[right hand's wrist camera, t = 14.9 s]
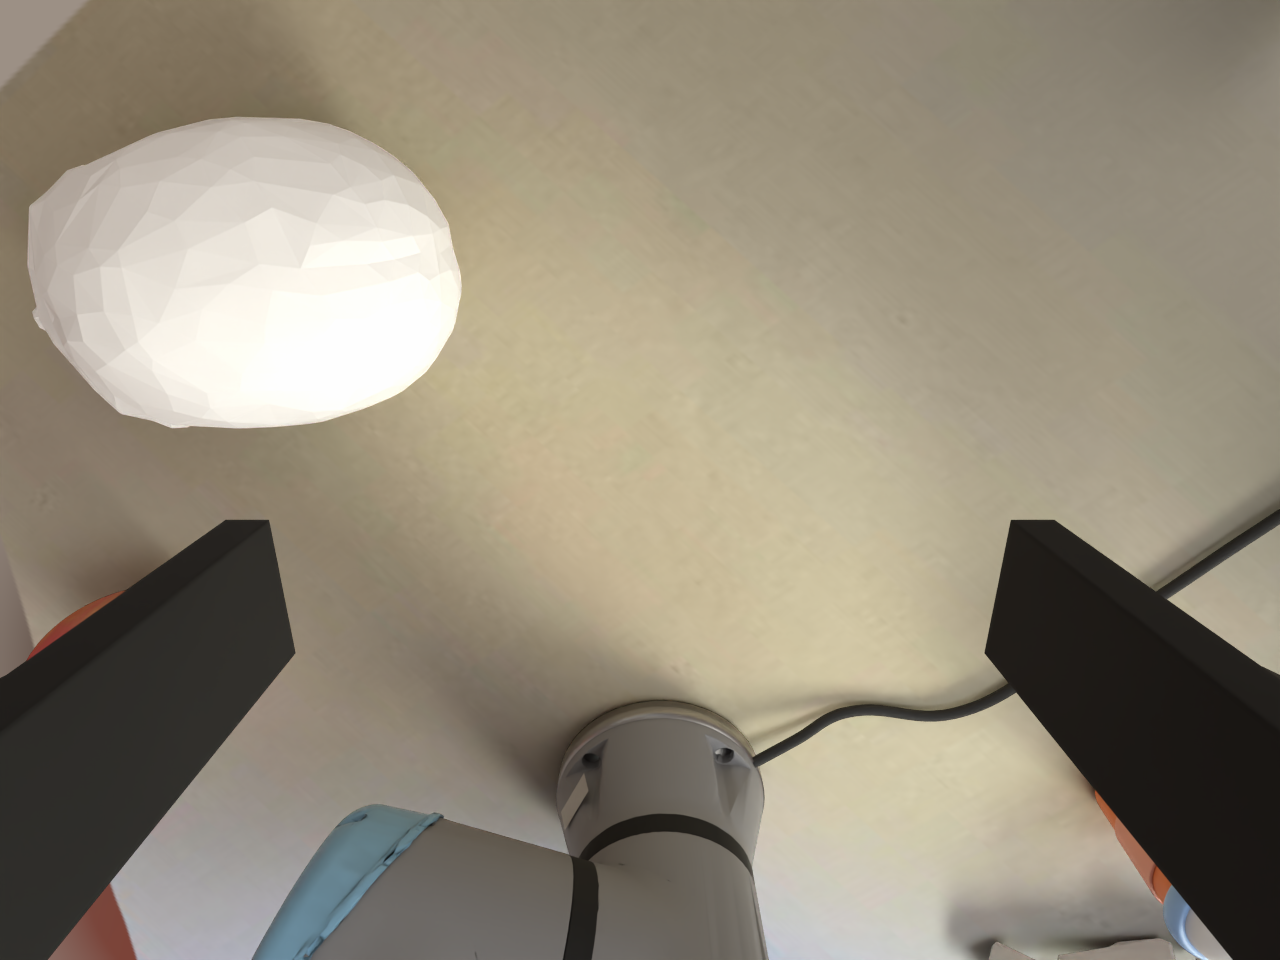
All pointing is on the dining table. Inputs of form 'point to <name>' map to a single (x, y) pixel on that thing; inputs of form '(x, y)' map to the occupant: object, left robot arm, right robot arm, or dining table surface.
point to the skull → (244, 274)
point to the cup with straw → (1167, 897)
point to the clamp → (1102, 952)
